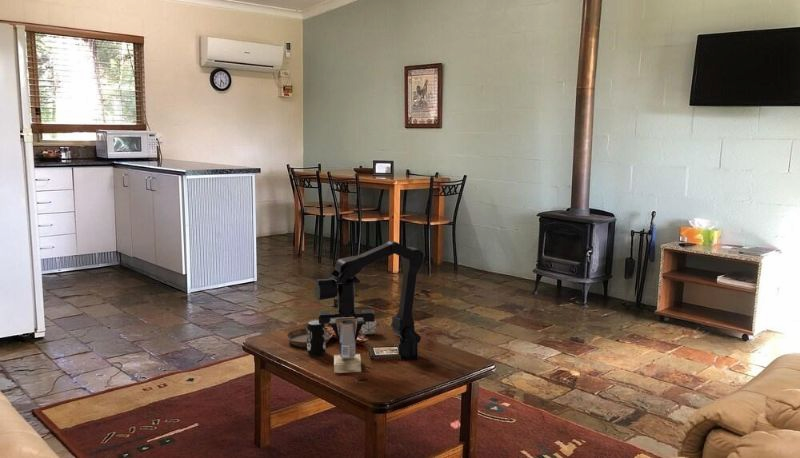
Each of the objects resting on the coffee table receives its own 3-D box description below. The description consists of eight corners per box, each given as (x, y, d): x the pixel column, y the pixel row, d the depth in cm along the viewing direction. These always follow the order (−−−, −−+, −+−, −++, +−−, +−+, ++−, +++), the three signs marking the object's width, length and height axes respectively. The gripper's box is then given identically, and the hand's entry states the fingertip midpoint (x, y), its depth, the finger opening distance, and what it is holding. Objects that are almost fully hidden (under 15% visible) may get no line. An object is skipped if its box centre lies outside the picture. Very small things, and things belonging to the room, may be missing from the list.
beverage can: (322, 357, 225) (321, 325, 223) (304, 356, 226) (303, 324, 224) (327, 351, 231) (327, 319, 229) (311, 349, 233) (310, 318, 231)
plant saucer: (311, 331, 255) (311, 324, 254) (342, 340, 243) (342, 333, 243) (277, 342, 241) (276, 335, 241) (307, 353, 230) (307, 345, 230)
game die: (371, 342, 252) (384, 320, 254) (371, 341, 243) (384, 319, 245) (352, 330, 252) (365, 309, 254) (352, 329, 244) (365, 307, 246)
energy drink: (347, 352, 218) (346, 319, 216) (358, 355, 215) (358, 321, 213) (336, 356, 214) (335, 322, 212) (347, 360, 211) (347, 325, 209)
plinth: (360, 362, 220) (359, 353, 219) (361, 371, 211) (360, 362, 211) (334, 363, 219) (334, 354, 219) (334, 373, 210) (334, 364, 210)
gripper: (372, 289, 220) (373, 332, 223) (318, 291, 218) (320, 334, 221) (374, 297, 209) (375, 342, 212) (318, 299, 207) (319, 345, 210)
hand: (347, 340), depth 214 cm, fingers closed on energy drink, 5 cm apart
